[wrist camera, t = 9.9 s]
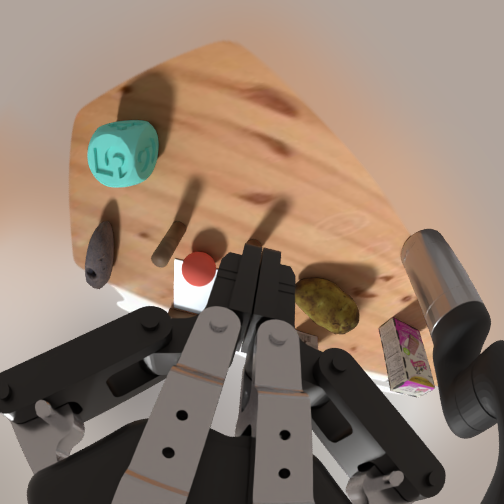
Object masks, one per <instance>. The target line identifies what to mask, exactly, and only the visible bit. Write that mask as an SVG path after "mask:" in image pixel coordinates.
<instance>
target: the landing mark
mask: <svg viewBox="0 0 504 504" xmlns="http://www.w3.org/2000/svg"><path fill="white" fill-rule="evenodd" d="M182 263H183V261H182V260H178V259H175V266H174V307H175V308H178V309H182V310H186V311H189V312H193V313H197V314H199V313H201V312H202V311H203V310H204V308H205V307H206V305H207V302H208V299H209V296H210V293H211V290H212V287H213V284H214V281H215V278H216V275H217V272H218V269H216V274H215V276H214V278H213V280H212V281H211V282H210V283H209V284H207V285H205V286H201V287H197V286H193V285H191V284H189V283H188V282H187V281H186V280H185V279H184V277H183V275H182V270H181V268H182Z"/></svg>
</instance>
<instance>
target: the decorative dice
mask: <svg viewBox="0 0 504 504" xmlns="http://www.w3.org/2000/svg"><path fill="white" fill-rule="evenodd" d="M158 147H159V143H158V136H157V133H156V130H155V129H154V128H153V126H152V125H151V124H150V123H149V122H147V121H143V120H126V121H118V122H113V123H109V124H106V125H103V126H101V127H99V128H98V129H97V130H96V131H95V133H94V134H93V136H92V138H91V140H90V143H89V147H88V164H89V167H90V170H91V172H92V173H93V175H94V176H95V178H96V179H97V180H98V181H99V182H100V183H102V184H103V185H105V186H108V187H127V186H132V185H136V184H139V183H141V182H143V181H145V180H146V179H147V178H148V177H149V176H150V175H151V174H152V172H153V170H154V167H155V165H156V161H157V157H158Z"/></svg>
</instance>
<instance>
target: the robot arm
mask: <svg viewBox="0 0 504 504" xmlns="http://www.w3.org/2000/svg"><path fill="white" fill-rule="evenodd" d="M261 253H262V254H261ZM401 260H402V263H403V265H404V268H405V270H406V272H407V274H408V277H409V279H410V282H411V284H412V287H413V289H414V291H415V294H416V296H417V299H418V302H419V304H420V307H421V309H422V312H423V315H424V318H425V320H426V323H427V326H428V329H429V332H430V335H431V338H432V341H433V344H434V348H433V362H434V367H435V372H436V377H437V382H438V388H439V394H440V400H441V405H442V410H443V413H444V416H445V419H446V422H447V424H448V426H449V427H450V429H451V431H452V432H453V433H454V434H455V435H457V436H458V437H460V438H464V439H465V438H472V437H474V436H476V435H478V434H480V433H482V432H484V431H485V430H487V429H489V428H490V427H492V426H493V425H495V424H496V423H498V431H499V456H498V462H497V467H496V471H495V474H494V476H493V479H492V481H491V484H490V486H489V488H488V490H487V492H486V494H485V496H484V498H483V500H482V502H481V504H504V341H503V340H500V341H496V342H494V343H493V344H491V345H490V346H489V347H488V348H487V349H485V351H483V352H482V353H481V354H480V352H481V349H482V346H483V344H484V342H485V340H486V337H487V335H488V333H489V330H490V326H491V319H490V315H489V313H488V311H487V309H486V307H485V305H484V303H483V302H482V300H481V298H480V296H479V294H478V292H477V290H476V289H475V287H474V285H473V283H472V282H471V280H470V278H469V276H468V274H467V273H466V271H465V269H464V268H463V266H462V265H461V263H460V261H459V260H458V258H457V257H456V255H455V254H454V252H453V250H452V249H451V248H450V246H449V245H448V243H447V242H446V241H445V239H444V238H443V236H442V235H441V234H440V233H439V232H438V231H436V230H433V229H424V230H421V231H418V232H416V233H415V234H413V235H412V236H411V237H410V238H409V239H408V240H407V241H406V242H405V244H404V246H403V248H402V251H401ZM280 262H281V252H280V251H276V250H272V249H268V248H263V251H262V247H259V246H255V245H251V244H247V243H245V246H244V250H243V254H242V255H240V254H235V253H231V252H229V253H228V254H227V255H226V256H225V257H223V258H222V260H221V263H220V266H219V269H218V272H217V275H216V278H215V281H214V284H213V287H212V290H211V293H210V296H209V299H208V302H207V305H206V307H205V308H204V310H203V311H202V312H201V313H199V314H198V315H196V316H193V317H189V318H171V317H170V316H169V314H168V313H167V312H166V311H165V310H163V309H161V308H159V307H155V306H146V307H142V308H139V309H137V310H135V311H133V312H131V313H129V314H127V315H124V316H122V317H120V318H118V319H116V320H114V321H112V322H109V323H107V324H105V325H103V326H101V327H99V328H96V329H94V330H92V331H90V332H88V333H86V334H84V335H81V336H79V337H77V338H75V339H73V340H71V341H69V342H66V343H64V344H62V345H60V346H58V347H55V348H53V349H51V350H49V351H47V352H45V353H43V354H40V355H38V356H36V357H34V358H32V359H29V360H28V361H25V362H23V363H21V364H18V365H16V366H14V367H12V368H10V369H8V370H5V371H3V372H1V373H0V413H1V414H2V415H4V416H5V417H6V418H8V419H9V420H10V422H11V424H12V426H13V429H14V432H15V434H16V436H17V439H18V441H19V444H20V446H21V448H22V451H23V453H24V455H25V457H26V459H27V461H28V463H29V465H30V467H31V469H32V471H33V473H34V476H33V477H32V478H31V480H30V482H29V485H28V489H27V500H28V504H412V503H413V502H414V501H418V500H422V499H426V498H430V497H433V496H435V495H437V494H438V493H439V492H440V491H441V489H442V488H443V486H444V483H445V470H444V468H443V466H442V465H441V463H440V462H439V461H438V460H437V459H436V457H435V456H434V455H433V453H432V452H431V451H430V450H429V449H428V448H427V446H426V445H425V444H424V442H423V441H422V440H421V439H420V438H419V436H418V435H417V434H416V433H415V431H414V430H413V429H412V428H411V427H410V425H409V424H408V423H407V422H406V421H405V419H404V418H403V417H402V416H401V414H400V413H399V412H398V411H397V410H396V408H395V407H394V406H393V405H392V404H391V403H390V401H389V400H388V399H387V398H386V396H385V395H384V394H383V393H382V392H381V390H380V389H379V388H378V387H377V386H376V384H375V383H374V382H373V381H372V380H371V378H370V377H369V376H368V375H367V374H366V372H365V371H364V370H363V369H362V368H361V366H360V365H359V364H358V363H357V362H356V361H355V359H354V358H353V357H352V356H351V355H350V354H349V353H348V352H346V351H345V350H342V349H339V348H330V349H327V350H325V351H324V352H321V351H319V350H317V349H315V348H313V347H311V346H309V345H307V344H306V343H304V342H303V341H302V340H301V339H300V338H299V336H298V333H297V331H296V330H295V274H294V272H293V270H292V268H291V267H290V266H286V265H282V264H280ZM242 341H243V343H242ZM241 344H242V348H241V352H244V353H247V356H246V362H245V365H244V367H243V371H242V381H241V394H240V405H239V415H238V420H237V424H236V430H235V437H229V436H226V435H224V434H221V433H219V432H217V431H215V430H213V429H211V428H210V427H211V423H212V420H213V417H214V414H215V410H216V407H217V404H218V400H219V397H220V394H221V391H222V387H223V384H224V381H225V378H226V375H227V371H228V368H229V367H230V366H231V364H232V361H233V358H234V355H235V351H239V350H240V347H241ZM165 378H166V380H165V382H164V384H163V387H162V389H161V391H160V394H159V396H158V398H157V401H156V403H155V405H154V408H153V410H152V412H151V415H150V417H149V418H147V419H141V420H137V421H134V422H132V423H129V424H127V425H125V426H123V427H121V428H120V429H118V430H116V431H114V432H113V433H111V434H109V435H107V436H106V437H104V438H103V439H100V440H99V441H97V442H95V443H93V444H91V445H90V446H88V447H86V448H84V449H82V450H80V451H78V452H76V453H74V454H73V455H70V456H69V454H70V451H71V450H72V448H73V447H74V446H75V445H76V444H78V443H79V442H80V441H81V440H82V438H83V436H84V432H85V427H84V422H85V421H88V420H90V419H92V418H94V417H95V416H98V415H99V414H101V413H103V412H105V411H107V410H109V409H111V408H113V407H115V406H117V405H118V404H120V403H122V402H124V401H126V400H128V399H130V398H132V397H134V396H135V395H137V394H139V393H141V392H143V391H144V390H146V389H148V388H150V387H152V386H153V385H155V384H157V383H159V382H160V381H162V380H164V379H165ZM312 430H313V432H314V433H315V434H316V435H317V437H318V438H319V439H320V441H321V442H322V443H323V445H324V446H325V447H326V448H327V450H328V451H329V452H330V454H331V455H332V456H333V457H334V459H335V460H336V461H337V463H338V464H339V465H340V466H341V468H342V469H343V470H344V471H345V473H346V474H347V475H348V476H349V478H350V479H349V481H348V484H347V487H346V493H347V494H348V496H349V498H350V499H351V501H352V503H351V501H350V500H349V499H348V498H347V496H346V495H345V494H344V492H343V491H342V490H341V488H340V487H339V486H338V484H337V483H336V482H335V480H334V479H333V477H332V476H331V475H330V473H329V472H328V471H327V469H326V468H325V466H324V465H323V464H322V463H321V461H319V459H318V458H317V457H315V456H314V455H313V454H312Z"/></svg>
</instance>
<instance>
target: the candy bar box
mask: <svg viewBox="0 0 504 504" xmlns="http://www.w3.org/2000/svg"><path fill="white" fill-rule="evenodd" d="M379 333H380V337H381V342H382V347H383V352H384V357H385V362H386V368H387V373H388V379H389V385H390V391H393V392H397V393H401V394H405V395H410V396H414V397H418V398H419V397H421V396H422V395H424V394H426V393H428V392H429V391H432V390H433V389H434V388H435V386H434V381H433V377H432V374H431V370H430V366H429V362H428V359H427V356H426V352H425V349H424V345H423V342H422V339H421V336H420V332H419V331H418V330H416V329H414V328H412V327H410V326H409V325H407V324H405V323H403V322H401V321H399V320H397V319H395V318H394V317H392V318H391V319H389V320H388V321H387V322H386V323H385V324H383V325H382V326H381V327H380V328H379Z"/></svg>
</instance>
